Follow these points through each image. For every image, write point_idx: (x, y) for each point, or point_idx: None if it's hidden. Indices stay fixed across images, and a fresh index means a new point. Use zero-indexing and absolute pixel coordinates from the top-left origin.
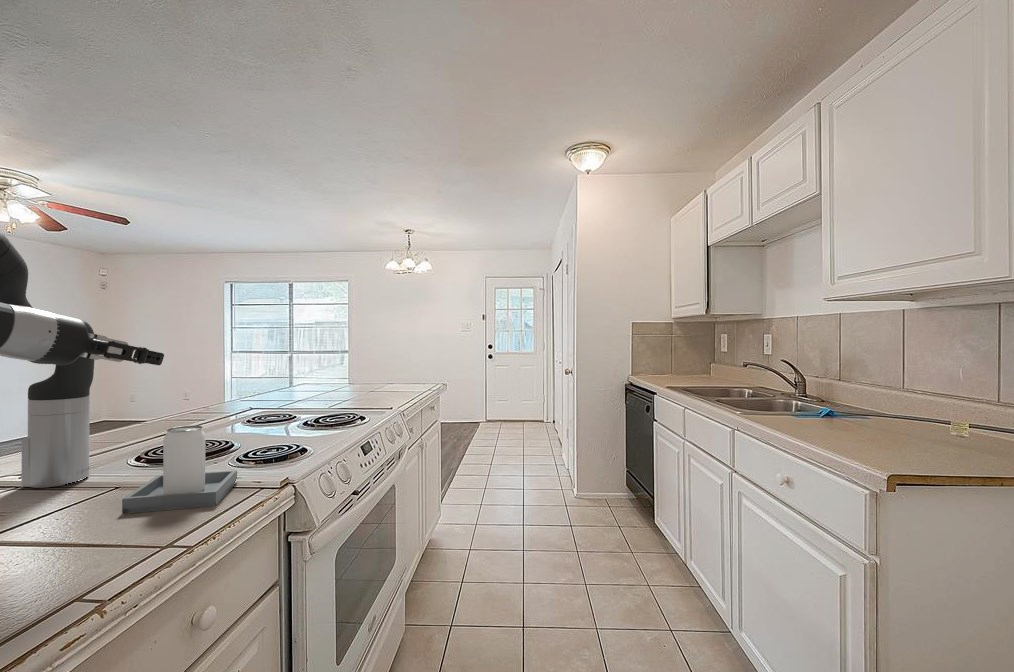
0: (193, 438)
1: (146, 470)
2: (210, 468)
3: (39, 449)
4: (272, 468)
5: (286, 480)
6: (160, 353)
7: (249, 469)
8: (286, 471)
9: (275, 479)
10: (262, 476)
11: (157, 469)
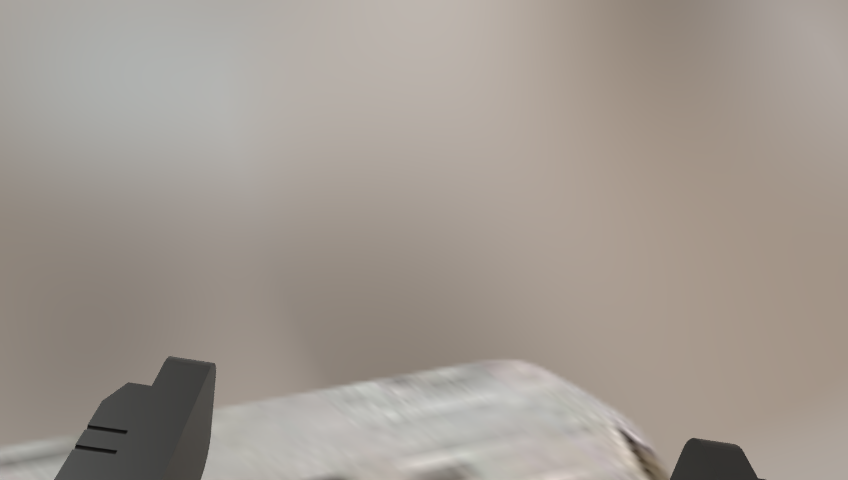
0: None
1: (27, 474)
2: (268, 407)
3: None
4: (485, 367)
5: (651, 460)
6: (750, 472)
7: (418, 390)
8: (559, 384)
9: (605, 459)
10: (532, 442)
11: (65, 455)
